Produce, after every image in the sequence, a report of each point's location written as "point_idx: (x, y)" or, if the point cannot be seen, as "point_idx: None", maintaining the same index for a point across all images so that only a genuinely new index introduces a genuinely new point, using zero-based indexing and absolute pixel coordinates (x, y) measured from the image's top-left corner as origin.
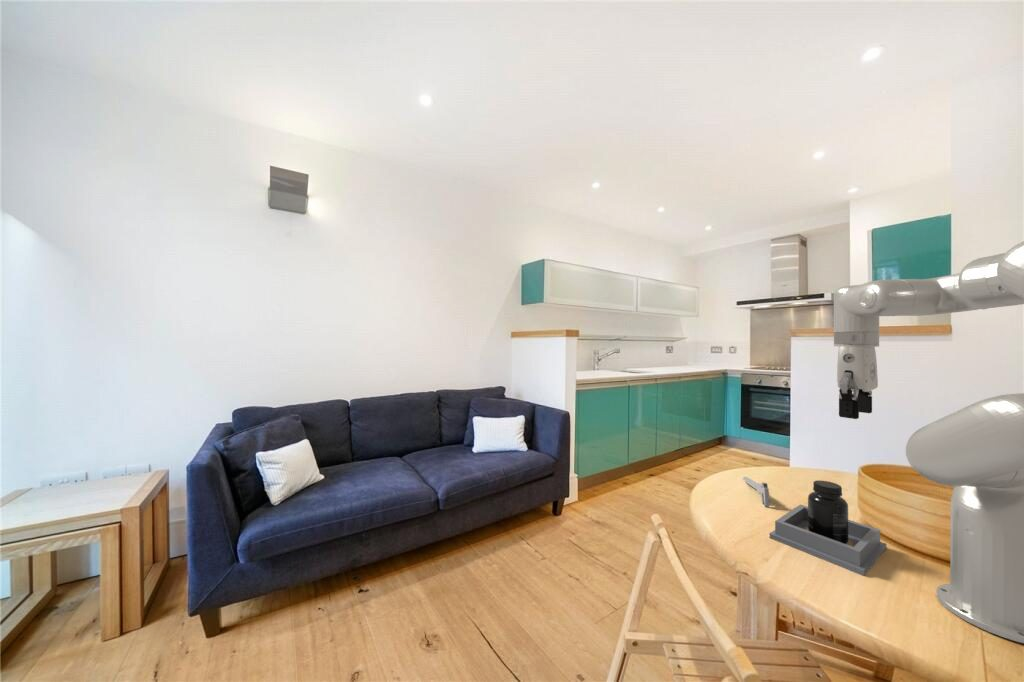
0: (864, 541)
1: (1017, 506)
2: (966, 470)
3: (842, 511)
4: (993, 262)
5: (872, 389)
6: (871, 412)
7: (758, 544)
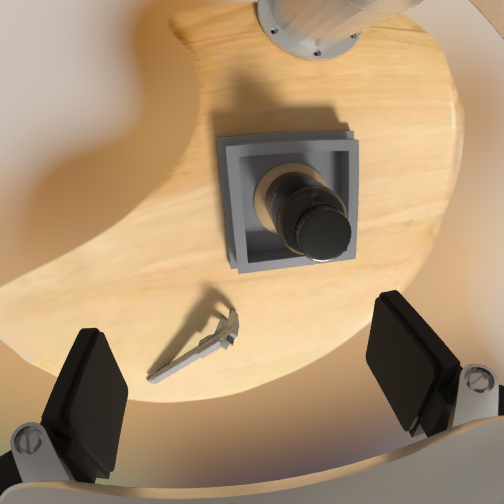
0: (311, 145)
1: None
2: None
3: (326, 187)
4: None
5: (238, 491)
6: (86, 328)
7: (379, 248)
